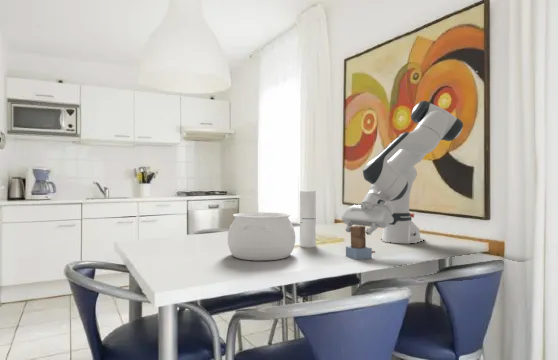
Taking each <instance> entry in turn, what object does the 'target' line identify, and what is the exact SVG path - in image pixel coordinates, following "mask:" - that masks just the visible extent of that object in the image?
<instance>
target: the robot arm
mask: <svg viewBox="0 0 558 360" xmlns="http://www.w3.org/2000/svg"><path fill="white" fill-rule="evenodd" d="M410 117H411V121H412V122H414V123H415V124H417V125H416V126H415V128H413V130H412V131H410V132H409V131H405V132H402V133H401V134H399V135H398V136H396V138H394V139H393V140H392V141H391V142H390V143H388V145H386V146H385V148H384V149H382V150H381V151H380V152H379V153H378V154H377V155H376V156H375V157H374V158H373V159H371V160H370V161H369V162H368V163H367V164H366V165H364V168H363V169H362V175H363V178H364V181H366V182H368V183H370V184H371V185H370V187H369V188H368V192H367V193H366V194H365V195H364V197H363V199H362V200H361V202H360V204H358V205H357V204H353V205H352V206H349V207H348V208H347V209H346V211H345V212H344V213H343V214H342V216H341V219H342V221H343V223H344V224H345V225H346V227H345V231H346V233H351V227H352V226H365V227H369V228H366V229H365V234H366V235H367V236H368V235H369V236H371V235H372V233H373V232H374V231H376V230H377V229H378V228H382V237H380V240H381V239H382V242H385V243H390V242H391V244H410V243H415V244H418V243H417V242H419V243H421V242H420V241H422V242H424V241H423V240H425V241H426V239H425V238H423V237H421V233H420V232H421V231H420V227H418V226H417V225H416V224H415V223H414V222H413V221H412V220H413V218H415V213H410V197H411V190H412V188H413V183H414V182H415V180H416V178H417V176H418V172H417V169H416V168H415V166H416V165H418V163H420V162H422V161H423V159H424V158H425V157H426V155H427V154H429V153H431V152H433V151H434V150H435V149H436V147H438V145H439V143H440V142H441V141H447V142H452V141H453V140H455V139H456V138H458V137H459V136H460V134H461V132H462V131H463V128H464V123H463V121H462V120H461V119H460V118H459V117H456V116H455V115H453V114H452V113H451V112H449V111H447V110H446V109H444V108H443V107H440V106H438V105H435V104H433V103H431V102H430V101H428V100H421V101H420V102H418V103H417V104H415V106H414V107H413V109H412V111H411V115H410Z"/></svg>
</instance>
